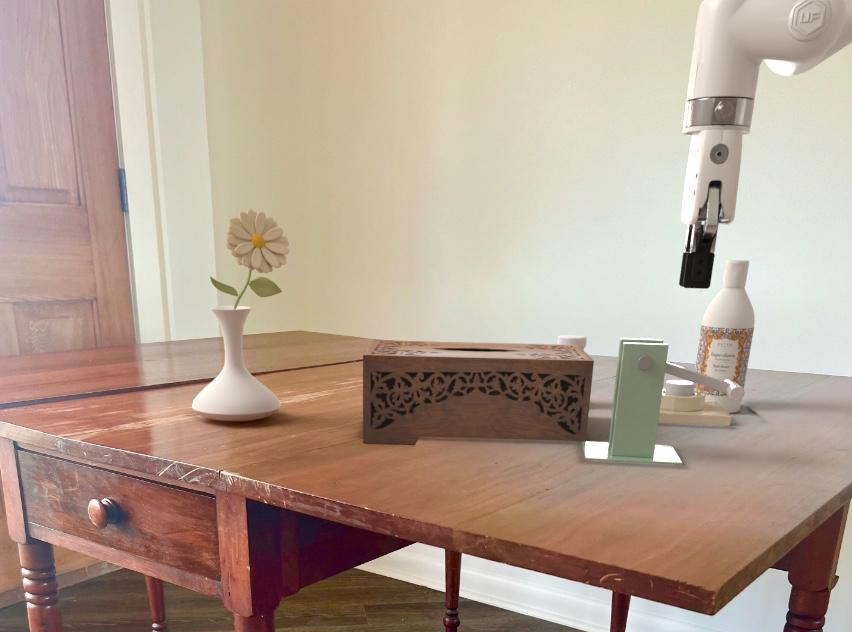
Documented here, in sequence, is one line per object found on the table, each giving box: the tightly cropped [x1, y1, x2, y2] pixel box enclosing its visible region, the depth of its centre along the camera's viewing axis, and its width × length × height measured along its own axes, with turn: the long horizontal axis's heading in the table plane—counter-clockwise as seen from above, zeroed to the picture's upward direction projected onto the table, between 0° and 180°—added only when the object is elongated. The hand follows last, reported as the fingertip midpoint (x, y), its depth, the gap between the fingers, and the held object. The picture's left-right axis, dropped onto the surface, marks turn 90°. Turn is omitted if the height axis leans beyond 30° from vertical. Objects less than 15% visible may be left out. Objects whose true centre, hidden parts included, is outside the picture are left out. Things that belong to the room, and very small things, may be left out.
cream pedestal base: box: [658, 388, 733, 427], centre depth 114 cm, size 12×10×4 cm
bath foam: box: [693, 259, 756, 415], centre depth 120 cm, size 7×7×20 cm
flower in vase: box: [191, 208, 290, 422], centre depth 108 cm, size 13×11×25 cm
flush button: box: [664, 379, 695, 396], centre depth 113 cm, size 4×4×2 cm
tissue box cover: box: [362, 339, 595, 446], centre depth 105 cm, size 26×14×10 cm, turn 86°
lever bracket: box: [581, 337, 684, 466], centre depth 92 cm, size 10×8×13 cm
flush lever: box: [665, 361, 746, 401], centre depth 90 cm, size 12×5×2 cm, turn 82°
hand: (694, 286), depth 108 cm, fingers closed
